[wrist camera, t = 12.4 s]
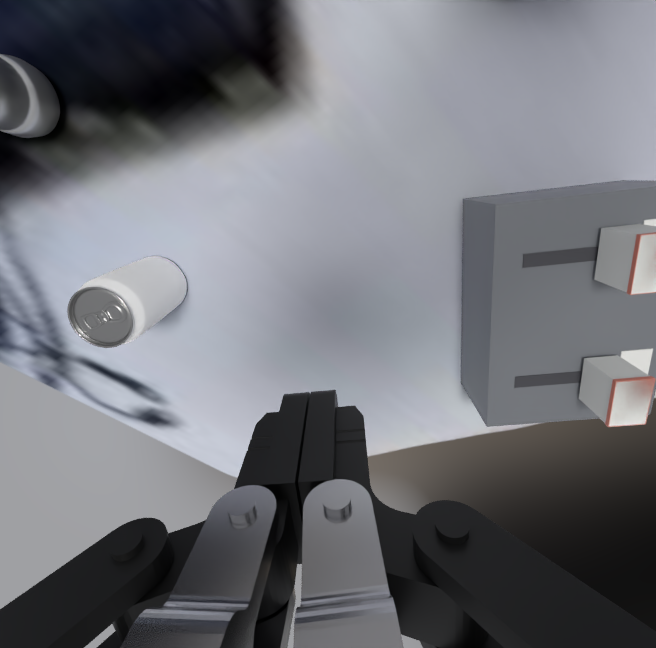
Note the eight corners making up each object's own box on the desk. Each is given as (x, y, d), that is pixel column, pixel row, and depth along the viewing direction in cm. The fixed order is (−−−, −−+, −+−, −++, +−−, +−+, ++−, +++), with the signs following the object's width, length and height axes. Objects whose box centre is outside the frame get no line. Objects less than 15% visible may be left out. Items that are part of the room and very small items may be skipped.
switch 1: (593, 280, 33) (630, 294, 29) (600, 227, 32) (640, 235, 27) (631, 276, 33) (673, 290, 29) (640, 223, 31) (686, 230, 27)
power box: (461, 382, 48) (487, 427, 39) (463, 198, 40) (496, 204, 32) (594, 371, 47) (651, 415, 38) (622, 180, 39) (701, 181, 30)
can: (198, 298, 45) (151, 338, 34) (150, 316, 46) (89, 361, 35) (171, 246, 43) (111, 271, 32) (122, 267, 44) (46, 297, 33)
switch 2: (578, 399, 37) (608, 427, 33) (583, 357, 36) (616, 381, 32) (611, 396, 37) (645, 424, 33) (618, 354, 36) (655, 378, 31)
